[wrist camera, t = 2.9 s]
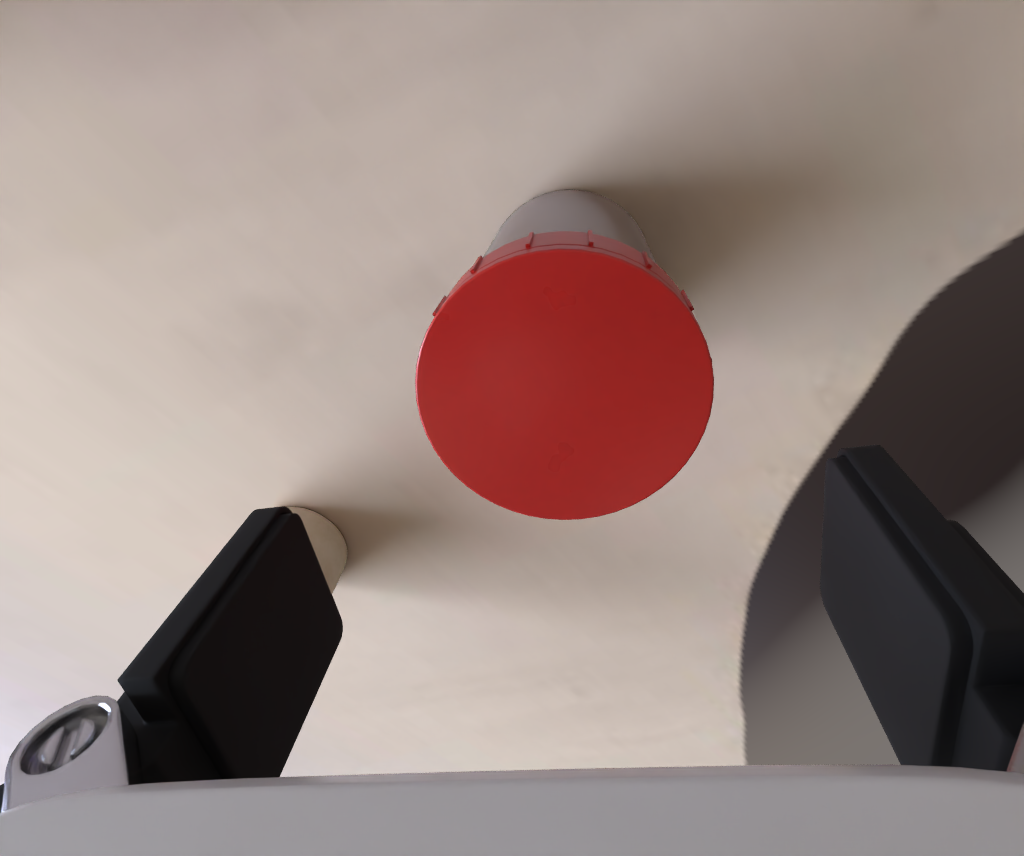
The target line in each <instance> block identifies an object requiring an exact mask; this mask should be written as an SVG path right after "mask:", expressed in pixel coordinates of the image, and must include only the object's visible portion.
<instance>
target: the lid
mask: <svg viewBox="0 0 1024 856" xmlns="http://www.w3.org/2000/svg"><path fill="white" fill-rule="evenodd" d="M692 310H694V308H693V306H692V304H691V302H690V300H689V299H688V297H687V295H686V293H685V291H684V290H682V291H681V292H680V290H679V288H678V287H677V285H676V284H675V283H674V282H673V280H672V279H671V278H670V277H669V276H668V275H667V273H666V272H665V271H664V270H663V269H661V268H660V267H659V266H658V265H657V264H656V263H655V262H653V261H652V260H651V259H650V258H649V257H648V255H647V252H645V251H644V250H643V251H642V253H641V252H639V251H638V250H636V249H634V248H632V247H630V246H628V245H626V244H624V243H622V242H620V241H617V240H614V239H611V238H608V237H604V236H601V235H597V234H593V232H592V230H588V233H585V232H575V231H556V232H547V233H540V234H535V235H534V232H530V233H529V235H528V236H527V237H523V238H520V239H518V240H515V241H513V242H510V243H508V244H505V245H503V246H501V247H500V248H498V249H496V250H494V251H492V252H491V253H489V254H488V255H486V256H485V257H484V258H483V257H482V256H480V257H478V259H477V260H476V262H475V263H474V265H473V266H472V267H471V268H470V269H469V270H468V271H467V272H466V273H465V274H464V275H463V276H462V277H461V279H460V280H459V281H458V282H457V284H456V285H455V286H454V288H453V289H452V290H451V292H450V293H449V295H448V296H447V297H446V296H444V297H443V299H442V300H441V302H440V304H439V305H438V307H437V308H436V310H435V311H434V313H433V316H435V317H434V319H433V321H432V322H431V324H430V326H429V328H428V330H427V332H426V334H425V337H424V340H423V342H422V345H421V348H420V352H419V356H418V361H417V366H416V379H415V387H416V401H417V405H418V410H419V415H420V418H421V421H422V424H423V427H424V430H425V433H426V435H427V437H428V439H429V441H430V443H431V444H432V446H433V448H434V450H435V451H436V453H437V454H438V456H439V457H440V459H441V460H442V462H443V463H444V464H445V465H446V466H447V467H448V469H449V470H450V471H451V472H452V473H453V474H454V475H455V476H456V477H457V478H458V479H459V480H460V481H461V482H463V483H464V484H465V485H466V486H467V487H469V488H470V489H471V490H473V491H474V492H476V493H477V494H479V495H480V496H482V497H483V498H485V499H487V500H489V501H491V502H493V503H494V504H496V505H499V506H501V507H504V508H506V509H508V510H511V511H514V512H517V513H521V514H524V515H528V516H533V517H539V518H545V519H558V520H572V519H585V518H592V517H598V516H602V515H606V514H610V513H614V512H617V511H619V510H622V509H624V508H627V507H630V506H632V505H634V504H636V503H638V502H640V501H642V500H643V499H645V498H647V497H649V496H650V495H652V494H653V493H655V492H656V491H657V490H659V489H660V488H662V487H663V486H664V485H665V484H666V483H668V482H669V481H670V480H671V479H672V478H673V477H674V476H675V475H676V474H677V473H678V472H679V471H680V470H681V469H682V467H683V466H684V465H685V464H686V463H687V461H688V460H689V458H690V457H691V455H692V454H693V453H694V451H695V450H696V448H697V446H698V444H699V442H700V440H701V438H702V436H703V434H704V432H705V429H706V426H707V423H708V420H709V417H710V413H711V407H712V402H713V391H714V376H713V368H712V359H711V357H710V353H709V349H708V346H707V342H706V340H705V338H704V335H703V333H702V331H701V329H700V326H699V324H698V322H697V320H696V319H695V317H694V315H693V313H692Z"/></svg>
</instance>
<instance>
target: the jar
mask: <svg viewBox="0 0 1024 856" xmlns="http://www.w3.org/2000/svg"><path fill="white" fill-rule="evenodd" d="M588 230H592V232H593V234H597V235H601V236H604V237H608V238H611V239H614V240H617V241H620V242H622V243H624V244H626V245H628V246H630V247H632V248H634V249H636V250H638V251H639V252H641V253H642V251H643V250H644V251H645V252H647V255H648V257H649V258H650V259H651V260H652V261H653V262H655V263H656V261H655V259H654V257H653V255H652V253H651V250H650V248H649V246H648V244H647V242H646V239H645V237H644V235H643V233H642V231H641V229H640V228H639V226H638V225H637V223H636V222H635V220H634V219H633V218H632V217H631V216H630V215H629V213H627V212H626V211H625V210H624V209H623V208H622V207H621V206H619V205H618V204H616V203H615V202H613V201H612V200H610V199H608V198H606V197H604V196H602V195H599V194H596V193H593V192H589V191H583V190H570V189H567V190H558V191H553V192H549V193H545V194H542V195H540V196H537V197H535V198H533V199H531V200H529V201H528V202H526V203H524V204H523V205H522V206H520V207H519V208H518V209H516V210H515V211H514V212H513V213H512V214H511V215H510V216H509V217H508V218H507V220H506V221H505V222H504V223H503V225H502V226H501V227H500V229H499V231H498V233H497V234H496V236H495V238H494V240H493V241H492V243H491V245H490V246H489V248H488V250H487V252H486V253H485V255H484V257H485V256H486V255H488V254H489V253H491V252H492V251H494V250H496V249H498V248H500V247H501V246H503V245H505V244H508V243H510V242H513V241H515V240H518V239H520V238H523V237H527V236H528V235H529V233H530V232H534V235H535V234H540V233H547V232H556V231H575V232H585V233H588ZM484 257H483V258H484ZM656 264H657V263H656Z"/></svg>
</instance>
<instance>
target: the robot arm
mask: <svg viewBox="0 0 1024 856" xmlns="http://www.w3.org/2000/svg"><path fill="white" fill-rule="evenodd" d="M820 589H821V596H822V601H823V604H824V607H825V609H826V611H827V613H828V615H829V617H830V619H831V621H832V623H833V626H834V628H835V630H836V632H837V634H838V636H839V638H840V640H841V642H842V644H843V646H844V648H845V650H846V652H847V655H848V657H849V659H850V661H851V663H852V665H853V667H854V669H855V671H856V673H857V675H858V677H859V679H860V681H861V683H862V685H863V687H864V690H865V691H866V694H867V696H868V698H869V700H870V702H871V704H872V706H873V708H874V710H875V712H876V714H877V716H878V719H879V720H880V723H881V725H882V727H883V729H884V731H885V733H886V735H887V737H888V739H889V741H890V743H891V745H892V747H893V750H894V752H895V753H896V756H897V758H898V760H899V762H900V764H901V765H746V766H696V767H646V768H596V769H554V770H514V771H474V772H437V773H400V774H367V775H335V776H304V777H280V774H281V772H282V770H283V768H284V766H285V763H286V761H287V759H288V757H289V754H290V752H291V750H292V748H293V745H294V743H295V741H296V739H297V736H298V734H299V732H300V730H301V727H302V725H303V723H304V721H305V718H306V716H307V714H308V712H309V709H310V707H311V705H312V703H313V701H314V698H315V696H316V694H317V692H318V689H319V687H320V685H321V683H322V680H323V678H324V676H325V674H326V671H327V669H328V667H329V665H330V662H331V660H332V658H333V656H334V653H335V651H336V649H337V647H338V645H339V642H340V640H341V637H342V632H343V625H342V619H341V616H340V614H339V611H338V609H337V606H336V604H335V601H334V599H333V596H332V594H331V591H330V589H329V586H328V584H327V581H326V579H325V576H324V574H323V571H322V569H321V566H320V564H319V561H318V559H317V556H316V554H315V551H314V549H313V546H312V544H311V541H310V539H309V536H308V534H307V531H306V529H305V526H304V524H303V521H302V519H301V517H300V516H299V515H298V514H296V513H292V511H291V510H290V509H289V508H287V507H285V506H284V507H274V508H265V509H257V510H254V511H253V512H252V513H251V514H250V515H249V517H248V518H247V519H246V520H245V522H244V523H243V524H242V525H241V527H240V528H239V529H238V530H237V532H236V533H235V534H234V535H233V537H232V538H231V539H230V540H229V542H228V543H227V544H226V545H225V547H224V548H223V549H222V550H221V552H220V553H219V554H218V555H217V556H216V558H215V559H214V560H213V561H212V563H211V564H210V565H209V566H208V568H207V569H206V570H205V571H204V573H203V574H202V575H201V576H200V578H199V579H198V580H197V581H196V583H195V584H194V585H193V586H192V588H191V589H190V590H189V591H188V593H187V594H186V595H185V596H184V598H183V599H182V600H181V601H180V603H179V604H178V605H177V606H176V608H175V609H174V610H173V611H172V613H171V614H170V615H169V616H168V618H167V619H166V620H165V621H164V623H163V624H162V625H161V626H160V628H159V629H158V630H157V631H156V633H155V634H154V635H153V636H152V638H151V639H150V640H149V641H148V643H147V644H146V645H145V646H144V648H143V649H142V650H141V651H140V653H139V654H138V655H137V656H136V658H135V659H134V660H133V661H132V663H131V664H130V665H129V666H128V668H127V669H126V670H125V671H124V672H123V674H122V675H121V676H120V677H119V679H118V682H119V683H120V685H121V686H122V688H123V690H124V691H125V692H124V693H123V695H122V696H121V697H120V698H119V700H118V701H116V700H114V699H112V698H110V697H108V696H93V697H88V698H84V699H80V700H78V701H76V702H73V703H71V704H69V705H66V706H64V707H63V708H61V709H59V710H58V711H56V712H54V713H53V714H51V715H49V716H48V717H47V718H45V719H44V720H43V721H42V722H40V723H39V724H38V725H36V726H35V727H34V728H33V729H32V730H31V731H30V732H29V733H28V734H27V735H26V736H25V737H24V738H23V739H22V740H21V741H20V742H19V744H18V745H17V747H16V748H15V750H14V751H13V753H12V754H11V756H10V758H9V761H8V764H7V767H6V773H5V783H4V784H2V785H0V856H1024V593H1023V592H1022V591H1021V590H1020V589H1019V588H1018V587H1017V586H1016V585H1015V583H1014V582H1013V581H1012V580H1011V579H1010V578H1009V577H1008V576H1007V575H1006V573H1005V572H1004V571H1003V570H1002V569H1001V568H1000V567H999V566H998V565H997V564H996V563H995V561H994V560H993V559H992V558H991V557H990V556H989V555H988V554H987V552H986V551H985V550H984V549H983V548H982V547H981V546H980V545H979V544H978V542H977V541H976V540H975V539H974V538H973V537H972V536H971V535H970V534H969V533H968V531H967V530H966V529H965V528H964V527H963V526H961V525H960V524H959V523H958V522H956V521H953V520H946V519H945V518H944V517H943V515H942V514H941V513H940V512H939V511H938V510H937V509H936V507H935V506H934V505H933V504H932V503H931V502H930V501H929V499H928V498H927V497H926V496H925V495H924V494H923V493H922V492H921V490H920V489H919V488H918V487H917V486H916V485H915V484H914V483H913V481H912V480H911V479H910V478H909V477H908V476H907V474H906V473H905V472H904V471H903V470H902V469H901V468H900V467H899V465H898V464H897V463H896V462H895V461H894V460H893V458H892V457H891V456H890V455H889V454H888V453H887V452H886V450H884V448H883V447H881V446H880V445H870V446H861V447H850V448H841V449H840V450H839V451H838V454H837V458H830V459H828V460H827V462H826V468H825V491H824V512H823V534H822V555H821V577H820Z"/></svg>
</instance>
